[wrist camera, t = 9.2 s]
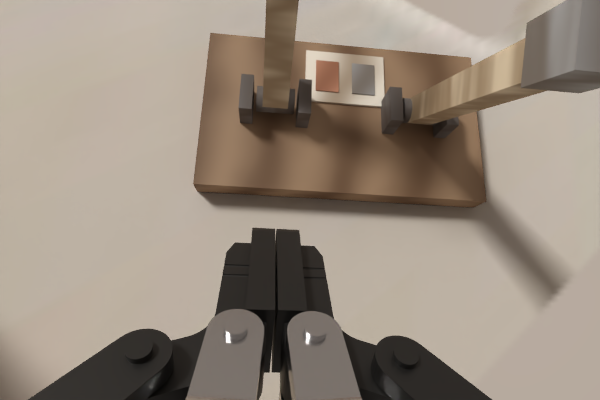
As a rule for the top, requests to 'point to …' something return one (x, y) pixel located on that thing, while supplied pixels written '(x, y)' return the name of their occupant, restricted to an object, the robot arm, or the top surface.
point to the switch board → (335, 128)
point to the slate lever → (521, 67)
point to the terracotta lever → (278, 58)
